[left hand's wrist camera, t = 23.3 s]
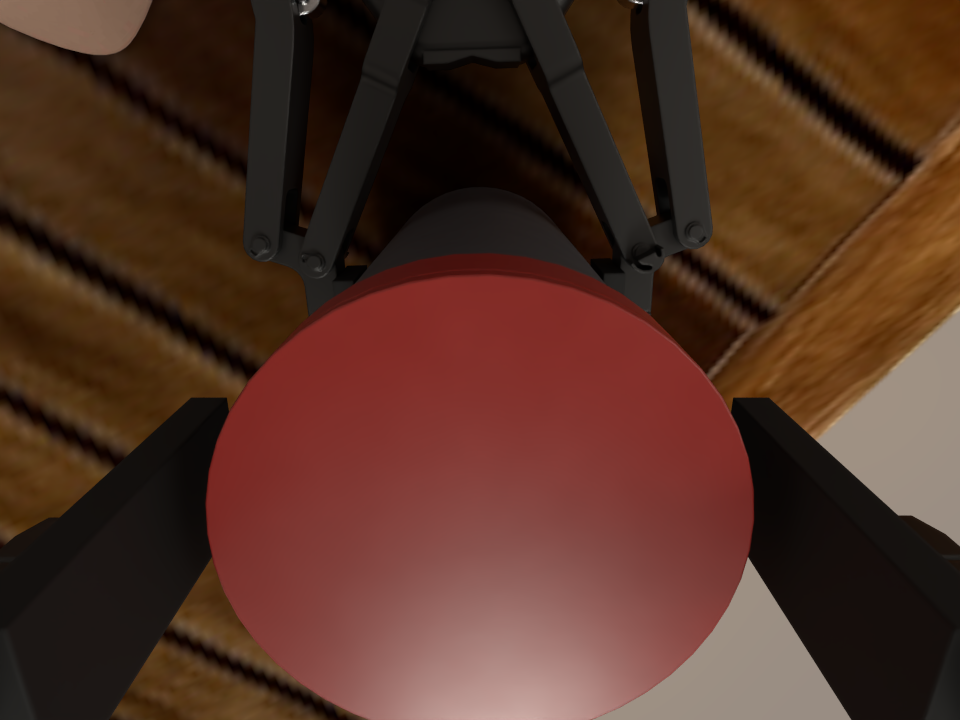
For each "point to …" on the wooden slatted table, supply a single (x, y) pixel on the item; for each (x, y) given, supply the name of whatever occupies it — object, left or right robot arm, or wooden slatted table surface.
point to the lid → (479, 496)
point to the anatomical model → (77, 22)
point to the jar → (480, 232)
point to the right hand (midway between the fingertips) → (483, 427)
